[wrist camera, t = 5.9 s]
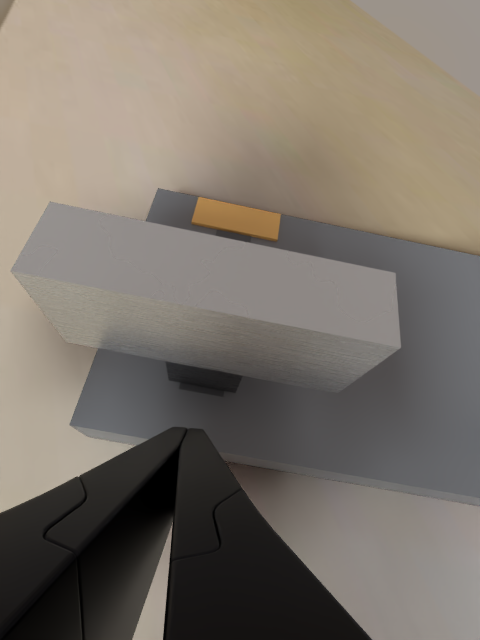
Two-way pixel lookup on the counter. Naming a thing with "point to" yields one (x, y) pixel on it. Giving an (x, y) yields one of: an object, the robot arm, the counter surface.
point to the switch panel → (316, 405)
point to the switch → (208, 301)
